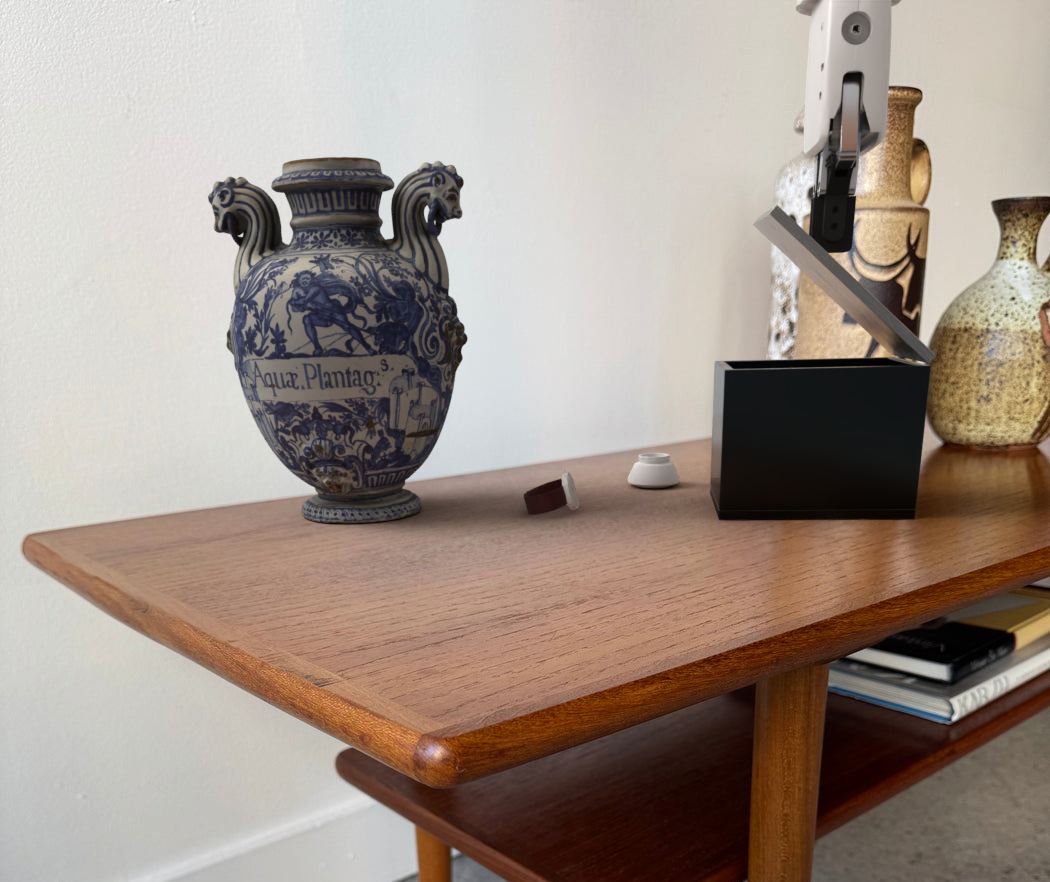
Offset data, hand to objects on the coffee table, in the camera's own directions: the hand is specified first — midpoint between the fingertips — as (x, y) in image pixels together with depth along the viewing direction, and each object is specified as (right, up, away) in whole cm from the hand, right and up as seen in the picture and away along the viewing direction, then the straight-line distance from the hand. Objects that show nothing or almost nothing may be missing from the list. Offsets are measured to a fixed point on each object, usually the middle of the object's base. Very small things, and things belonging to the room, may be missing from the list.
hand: (829, 252), depth 83 cm
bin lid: (+1, -3, +1) cm, 3 cm away
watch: (-22, -19, +8) cm, 31 cm away
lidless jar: (-12, -15, +19) cm, 27 cm away
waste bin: (0, -19, +7) cm, 20 cm away
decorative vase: (-39, -19, +10) cm, 45 cm away
